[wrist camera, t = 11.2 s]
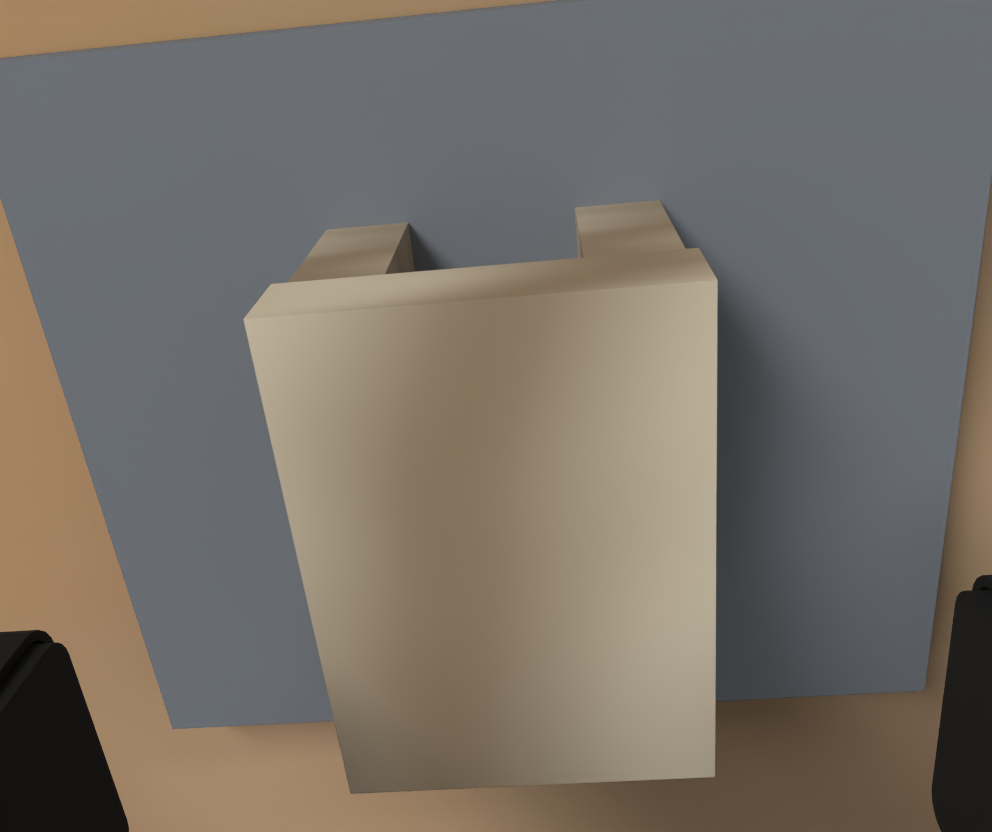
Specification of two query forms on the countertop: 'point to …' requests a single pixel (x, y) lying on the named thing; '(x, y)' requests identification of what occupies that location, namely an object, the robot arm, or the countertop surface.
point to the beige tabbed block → (504, 502)
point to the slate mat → (517, 239)
